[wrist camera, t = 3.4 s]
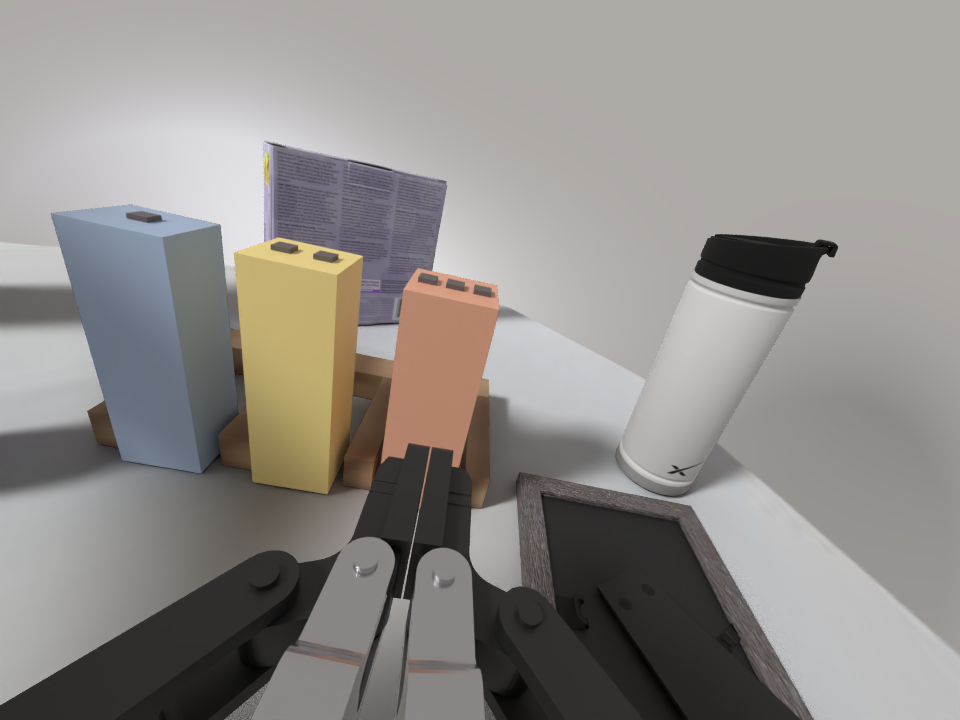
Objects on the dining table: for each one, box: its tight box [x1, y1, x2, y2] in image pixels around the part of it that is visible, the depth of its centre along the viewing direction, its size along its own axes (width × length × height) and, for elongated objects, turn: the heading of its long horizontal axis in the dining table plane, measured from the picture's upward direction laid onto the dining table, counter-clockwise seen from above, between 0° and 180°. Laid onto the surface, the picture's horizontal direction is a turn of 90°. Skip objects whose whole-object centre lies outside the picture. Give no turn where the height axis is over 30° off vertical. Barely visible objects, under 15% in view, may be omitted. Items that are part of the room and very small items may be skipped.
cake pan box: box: [263, 141, 447, 325], centre depth 43 cm, size 19×5×18 cm, turn 123°
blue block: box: [51, 205, 238, 473], centre depth 21 cm, size 4×4×14 cm
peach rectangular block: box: [381, 268, 499, 510], centre depth 22 cm, size 4×4×14 cm
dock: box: [87, 329, 490, 509], centre depth 29 cm, size 24×13×2 cm, turn 89°
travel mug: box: [616, 234, 838, 496], centre depth 28 cm, size 6×7×20 cm
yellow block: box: [234, 237, 363, 494], centre depth 22 cm, size 4×4×14 cm
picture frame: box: [516, 473, 813, 720], centre depth 20 cm, size 13×2×18 cm
